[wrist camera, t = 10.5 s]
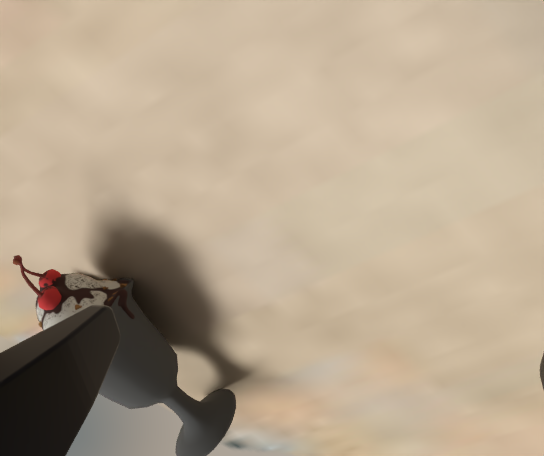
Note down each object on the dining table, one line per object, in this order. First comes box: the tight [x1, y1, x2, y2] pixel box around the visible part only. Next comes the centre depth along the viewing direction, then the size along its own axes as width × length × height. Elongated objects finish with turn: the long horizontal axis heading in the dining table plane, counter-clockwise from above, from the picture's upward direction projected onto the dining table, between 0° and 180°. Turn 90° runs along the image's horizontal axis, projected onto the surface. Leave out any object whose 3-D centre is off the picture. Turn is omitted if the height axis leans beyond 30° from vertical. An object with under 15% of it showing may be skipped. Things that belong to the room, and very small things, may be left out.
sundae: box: [13, 255, 236, 456], centre depth 24 cm, size 7×7×15 cm
